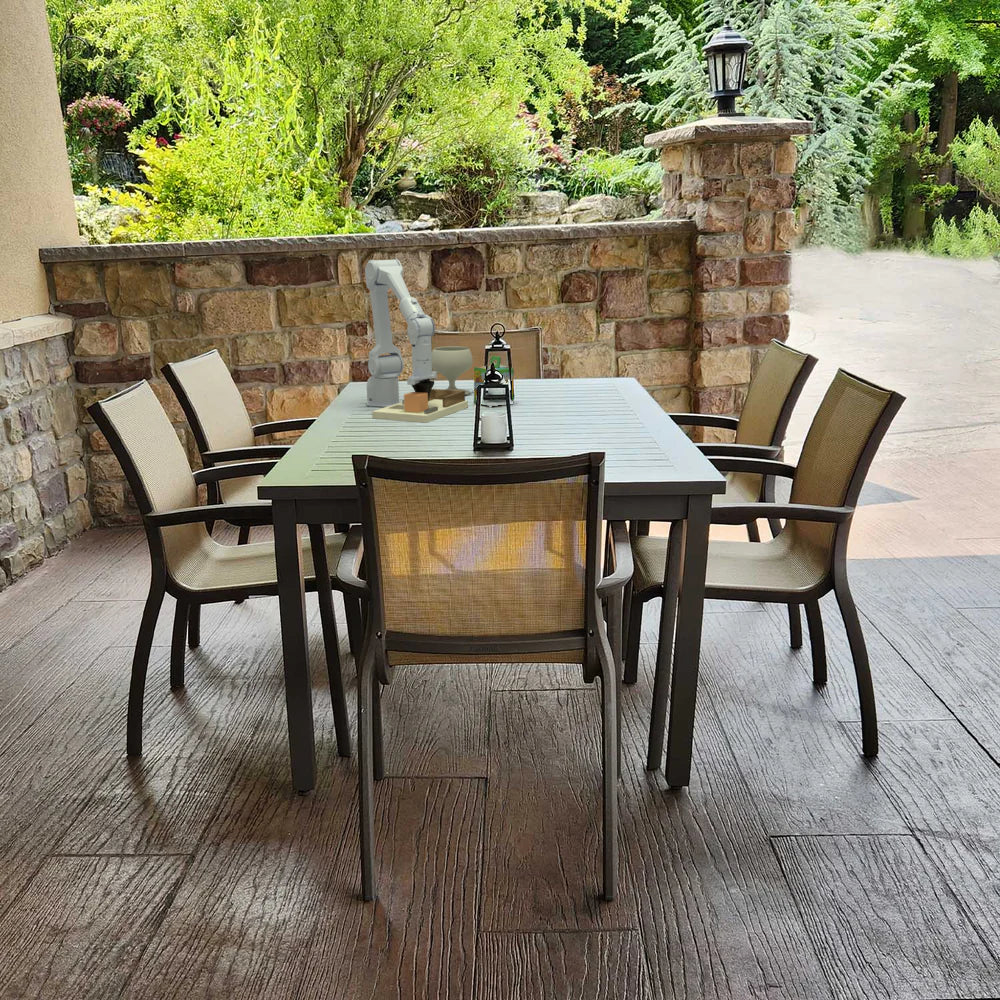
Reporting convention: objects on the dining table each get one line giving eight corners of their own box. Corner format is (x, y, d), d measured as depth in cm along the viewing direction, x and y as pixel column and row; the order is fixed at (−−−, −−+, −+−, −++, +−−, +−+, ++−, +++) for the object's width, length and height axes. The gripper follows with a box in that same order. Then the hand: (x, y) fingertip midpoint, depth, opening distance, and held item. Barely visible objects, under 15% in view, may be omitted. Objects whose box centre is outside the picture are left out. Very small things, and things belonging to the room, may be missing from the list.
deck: (372, 418, 292) (372, 411, 291) (416, 403, 314) (416, 397, 314) (426, 422, 284) (426, 415, 284) (468, 407, 307) (467, 400, 306)
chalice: (426, 392, 335) (425, 347, 331) (467, 389, 339) (466, 345, 335) (436, 398, 322) (435, 352, 318) (478, 396, 326) (477, 349, 322)
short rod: (424, 414, 286) (424, 409, 286) (434, 410, 291) (434, 406, 291) (427, 414, 286) (427, 410, 285) (437, 410, 291) (437, 406, 291)
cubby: (413, 405, 300) (412, 395, 300) (433, 398, 311) (433, 388, 310) (445, 407, 296) (445, 397, 295) (465, 400, 307) (464, 390, 306)
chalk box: (473, 404, 313) (472, 356, 309) (496, 400, 318) (496, 353, 314) (491, 408, 306) (490, 359, 302) (514, 404, 311) (514, 356, 307)
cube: (404, 411, 290) (404, 394, 289) (413, 408, 294) (412, 391, 293) (419, 412, 288) (419, 395, 287) (428, 409, 292) (427, 392, 291)
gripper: (421, 363, 283) (423, 410, 287) (445, 357, 296) (447, 402, 300) (400, 362, 286) (402, 409, 290) (425, 356, 299) (426, 401, 302)
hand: (423, 405), depth 295 cm, fingers closed
